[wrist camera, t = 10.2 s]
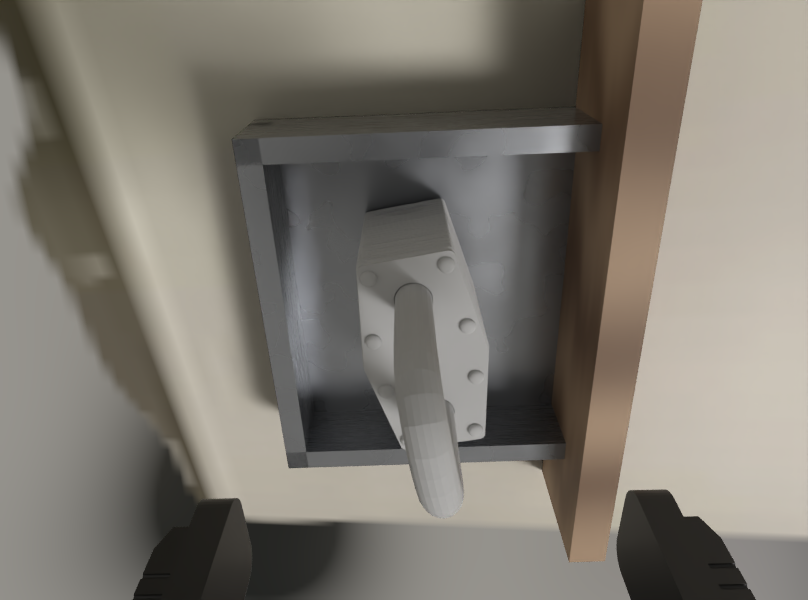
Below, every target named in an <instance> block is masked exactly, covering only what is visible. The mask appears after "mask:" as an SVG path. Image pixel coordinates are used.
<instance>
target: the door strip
mask: <svg viewBox="0 0 808 600" xmlns="http://www.w3.org/2000/svg"><path fill="white" fill-rule="evenodd" d="M701 6H702V0H585V11H584V22H583V33H582V44H581V54H580V65H579V76H578V87H577V98H576V107H577V108H578V109H580V110H581V111H583V112H584V113H586V114H588V115H589V116H591V117H592V118H594V119H595V120H597V121H599V122H600V123H602V133H601V142H600V150H599V151H592V152H576V153H575V163H574V174H573V184H572V195H571V205H570V216H569V226H568V237H567V247H566V258H565V268H564V279H563V289H562V300H561V310H560V321H559V331H558V342H557V352H556V363H555V373H554V384H553V395H552V406H553V409H554V412H555V415H556V417H557V420H558V423H559V426H560V428H561V431H562V434H563V436H564V439H565V442H566V449H565V458H564V459H553V460H543V468H542V472H543V475H544V479H545V482H546V485H547V489H548V492H549V496H550V499H551V502H552V506H553V509H554V513H555V516H556V519H557V523H558V526H559V529H560V533H561V536H562V540H563V543H564V546H565V550H566V553H567V557H568V560H569V562H590V561H605V557H606V551H607V545H608V539H609V534H610V528H611V522H612V517H613V511H614V505H615V499H616V494H617V488H618V482H619V477H620V471H621V465H622V459H623V454H624V448H625V442H626V436H627V431H628V425H629V419H630V413H631V408H632V402H633V396H634V390H635V385H636V379H637V373H638V367H639V362H640V356H641V350H642V344H643V339H644V333H645V327H646V321H647V316H648V310H649V304H650V299H651V293H652V287H653V281H654V276H655V270H656V264H657V258H658V253H659V247H660V241H661V235H662V230H663V224H664V218H665V212H666V207H667V201H668V195H669V189H670V184H671V178H672V172H673V166H674V161H675V155H676V149H677V144H678V138H679V132H680V126H681V121H682V115H683V109H684V103H685V98H686V92H687V86H688V80H689V75H690V69H691V63H692V57H693V52H694V46H695V40H696V34H697V29H698V23H699V17H700V11H701Z"/></svg>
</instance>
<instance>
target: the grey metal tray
mask: <svg viewBox="0 0 808 600" xmlns="http://www.w3.org/2000/svg"><path fill="white" fill-rule="evenodd" d="M601 133H602V123H600V122H599V121H597V120H595V119H594V118H592V117H591V116H589V115H588V114H586V113H584V112H583V111H581V110H580V109H578V108H577V107H561V108H537V109H513V110H489V111H465V112H441V113H417V114H393V115H370V116H346V117H322V118H298V119H274V120H254V121H253V122H252V123H251V124H249V125H248V126H247V127H246V128H245V129H243V130H242V131H241V132H240V133H239V134H237V135H236V136H235V137H234V138H233V139H232V144H233V150H234V155H235V161H236V167H237V173H238V178H239V184H240V190H241V196H242V201H243V207H244V213H245V219H246V224H247V230H248V236H249V242H250V247H251V253H252V259H253V265H254V271H255V276H256V282H257V288H258V294H259V299H260V305H261V311H262V317H263V322H264V328H265V334H266V340H267V345H268V351H269V357H270V363H271V369H272V374H273V380H274V386H275V392H276V397H277V403H278V409H279V415H280V420H281V426H282V432H283V438H284V443H285V449H286V455H287V461H288V466H289V468H308V467H339V466H370V465H400V464H409V462H408V458H407V454H406V450H404V449H403V448H401V446H400V443H399V441H398V439H397V437H396V435H395V433H394V431H393V429H392V427H391V425H390V423H389V421H388V419H387V416H386V414H385V412H384V410H383V408H382V406H381V404H380V402H379V400H378V398H377V396H376V394H375V392H374V389H373V387H372V385H371V383H370V381H369V379H368V377H367V375H366V373H365V371H364V368H363V359H362V345H361V331H360V317H359V304H358V290H357V276H356V264H357V257H358V252H359V246H360V241H361V234H362V228H363V223H364V216H365V214H366V213H367V212H370V211H375V210H381V209H386V208H391V207H397V206H402V205H407V204H413V203H418V202H423V201H429V200H434V199H439V198H440V199H443V200H444V201H445V203H446V206H447V209H448V212H449V215H450V218H451V221H452V223H453V226H454V229H455V232H456V235H457V238H458V241H459V243H460V246H461V249H462V252H463V255H464V258H465V261H466V264H467V266H468V269H469V272H470V275H471V278H472V281H473V284H474V288H475V292H476V296H477V300H478V304H479V308H480V312H481V316H482V320H483V324H484V328H485V332H486V336H487V340H488V344H489V361H488V383H487V405H486V426H485V436H484V437H483V438H481V439H476V440H469V441H463V442H458V449H459V457H460V463H462V462H492V461H523V460H553V459H564V458H565V449H566V442H565V439H564V436H563V434H562V431H561V428H560V426H559V423H558V420H557V417H556V415H555V412H554V409H553V406H552V395H553V384H554V373H555V363H556V352H557V342H558V331H559V321H560V310H561V300H562V289H563V279H564V268H565V258H566V247H567V237H568V226H569V216H570V205H571V195H572V184H573V174H574V163H575V153H576V152H592V151H599V150H600V142H601Z"/></svg>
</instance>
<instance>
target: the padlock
mask: <svg viewBox="0 0 808 600" xmlns="http://www.w3.org/2000/svg"><path fill="white" fill-rule="evenodd" d="M356 276H357V290H358V304H359V317H360V331H361V345H362V359H363V368H364V371H365V373H366V375H367V377H368V379H369V381H370V383H371V385H372V387H373V389H374V392H375V394H376V396H377V398H378V400H379V402H380V404H381V406H382V408H383V410H384V412H385V414H386V416H387V419H388V421H389V423H390V425H391V427H392V429H393V431H394V433H395V435H396V437H397V439H398V441H399V443H400V446H401V448H403V449H404V450H406V454H407V458H408V462H409V466H410V470H411V474H412V478H413V482H414V485H415V489H416V492H417V495H418V498H419V501H420V503H421V504H422V506H423V507H424V509H425V510H426V511H427V512H428V513H430V514H431V515H432V516H435V517H437V518H448V517H451V516H453V515H454V514H455V513H457V512H458V510H459V509H460V508H461V506H462V502H463V498H464V490H463V480H462V472H461V465H460V457H459V449H458V442H463V441H469V440H476V439H481V438H483V437H484V436H485V426H486V405H487V383H488V361H489V344H488V340H487V336H486V332H485V328H484V324H483V320H482V316H481V312H480V308H479V304H478V300H477V296H476V292H475V288H474V284H473V281H472V278H471V275H470V272H469V269H468V266H467V264H466V261H465V258H464V255H463V252H462V249H461V246H460V243H459V241H458V238H457V235H456V232H455V229H454V226H453V223H452V221H451V218H450V215H449V212H448V209H447V206H446V203H445V201H444V200H443V199H440V198H439V199H434V200H429V201H423V202H418V203H413V204H407V205H402V206H397V207H391V208H386V209H381V210H375V211H370V212H367V213H366V214H365V216H364V223H363V228H362V234H361V241H360V246H359V252H358V257H357V264H356Z"/></svg>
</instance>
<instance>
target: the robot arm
mask: <svg viewBox="0 0 808 600" xmlns="http://www.w3.org/2000/svg"><path fill="white" fill-rule="evenodd" d="M617 557H618V562H619V567H620V571H621V574H622V576H623V579H624V582H625V585H626V587H627V590H628V593H629V596H630V598H631V600H756V599H755V597H754V595H753V594H752V592H751V590H750V589H748V588H747V583H746V581H745V580H744V578H743V576H742V574H741V572H740V571H739V569H738V568H736V566H735V562H734V560H733V558H732V557H731V555H730V553H729V551H728V550H727V548H726V546H725V544H724V542H723V541H722V539H721V537H720V536H718V535H717V534H716V533H715V532H714V531H713V530H712V529H711V528H710V527H709V526H708V525H707V524H706V523H705V522H704V521H703V520H702V519H700V518H699V517H698V516H693V517H683V515H682V513H681V511H680V509H679V507H678V505H677V503H676V501H675V499H674V498H673V496H672V494H671V493H670V492H669V491H668V490H630V491H628V492H627V494H626V498H625V503H624V507H623V512H622V517H621V522H620V527H619V532H618V537H617ZM251 568H252V547H251V543H250V538H249V534H248V530H247V526H246V521H245V517H244V513H243V509H242V505H241V502H240V500H239V499H238V498H230V499H202V500H201V501H200V502H199V503H198V505H197V507H196V510H195V512H194V515H193V517H192V520H191V522H190V525H189V527H173V528H172V529H171V530H170V532H169V533H168V534H167V535H166V536H165V537H164V538H163V539H162V541H161V542H160V543H159V544H158V545H157V546H156V547H155V548H154V550H153V552H152V554H151V557H150V559H149V561H148V563H147V566H146V568H145V571H144V572H143V578H142V579H141V580H140V582H139V584H138V586H137V589H136V591H135V593H134V599H133V600H244V599H245V595H246V591H247V587H248V583H249V579H250V575H251Z"/></svg>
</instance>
